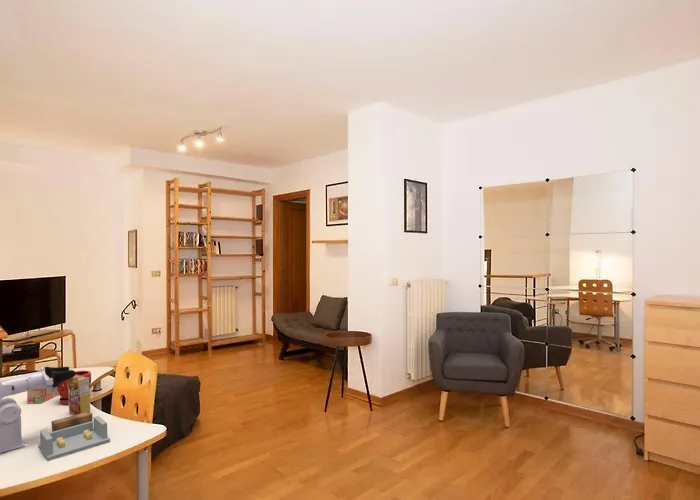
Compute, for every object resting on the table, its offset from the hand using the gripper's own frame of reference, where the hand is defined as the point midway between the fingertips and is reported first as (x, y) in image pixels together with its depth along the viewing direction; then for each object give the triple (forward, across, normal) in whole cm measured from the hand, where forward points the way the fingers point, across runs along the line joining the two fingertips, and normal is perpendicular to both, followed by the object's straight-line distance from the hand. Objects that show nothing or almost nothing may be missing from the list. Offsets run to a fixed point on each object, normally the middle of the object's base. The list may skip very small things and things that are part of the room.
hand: (71, 371), depth 162 cm
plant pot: (+7, +36, +22) cm, 43 cm away
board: (-3, -4, +22) cm, 22 cm away
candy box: (+4, +16, +22) cm, 28 cm away
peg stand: (-5, -15, +21) cm, 26 cm away
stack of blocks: (+2, +52, +22) cm, 57 cm away
